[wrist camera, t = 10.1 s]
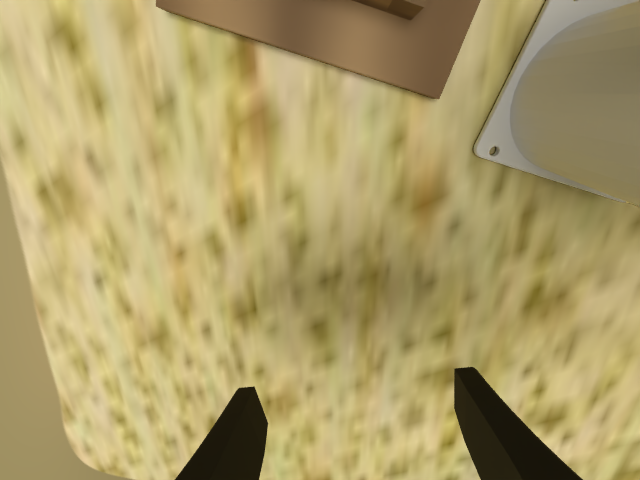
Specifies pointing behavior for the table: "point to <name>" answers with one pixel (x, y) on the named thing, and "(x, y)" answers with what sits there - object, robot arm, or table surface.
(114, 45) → the table surface
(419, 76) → the brown piece
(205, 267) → the table surface
